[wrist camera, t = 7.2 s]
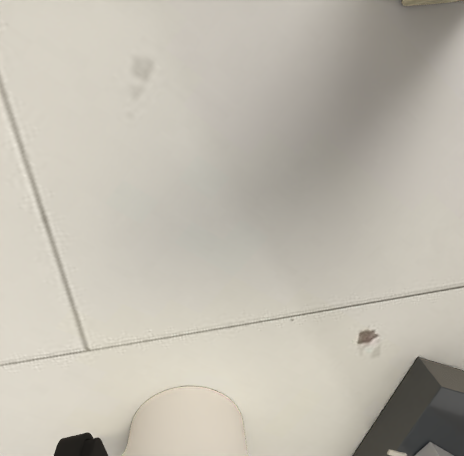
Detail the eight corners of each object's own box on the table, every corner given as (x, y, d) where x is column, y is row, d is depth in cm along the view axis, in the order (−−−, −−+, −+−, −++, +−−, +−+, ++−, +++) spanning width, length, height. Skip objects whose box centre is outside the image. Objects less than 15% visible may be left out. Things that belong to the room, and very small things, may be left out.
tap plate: (410, 354, 30) (435, 386, 27) (531, 390, 33) (565, 423, 30) (334, 472, 34) (348, 511, 31) (447, 496, 36) (470, 534, 33)
